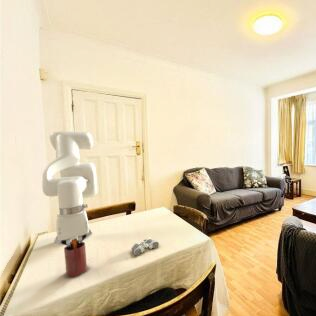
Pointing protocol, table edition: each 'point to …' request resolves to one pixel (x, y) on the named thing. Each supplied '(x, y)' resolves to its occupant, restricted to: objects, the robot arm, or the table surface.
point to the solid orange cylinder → (74, 243)
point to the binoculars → (147, 243)
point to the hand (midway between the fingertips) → (75, 252)
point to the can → (75, 261)
